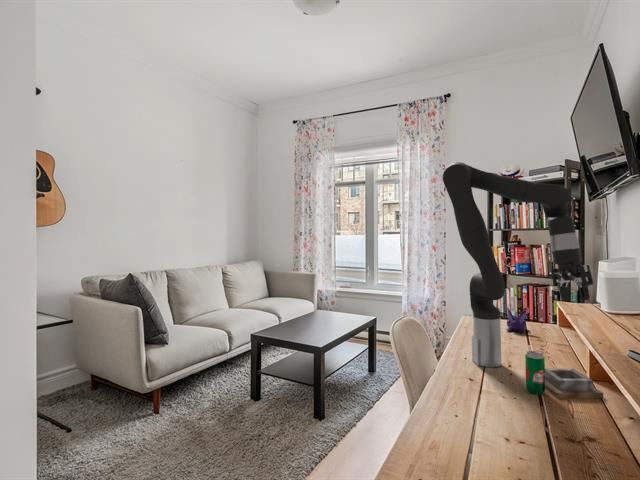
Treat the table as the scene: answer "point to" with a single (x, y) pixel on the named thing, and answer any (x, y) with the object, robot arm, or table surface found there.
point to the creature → (516, 321)
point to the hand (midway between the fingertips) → (575, 299)
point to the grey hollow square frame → (570, 384)
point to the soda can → (535, 372)
